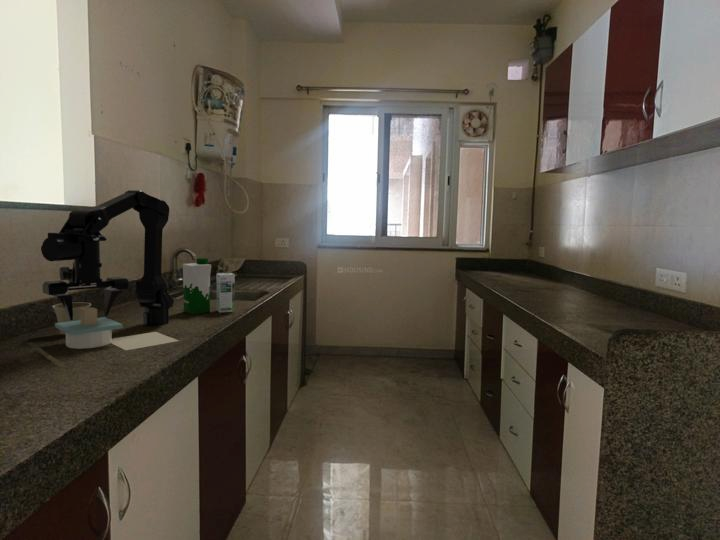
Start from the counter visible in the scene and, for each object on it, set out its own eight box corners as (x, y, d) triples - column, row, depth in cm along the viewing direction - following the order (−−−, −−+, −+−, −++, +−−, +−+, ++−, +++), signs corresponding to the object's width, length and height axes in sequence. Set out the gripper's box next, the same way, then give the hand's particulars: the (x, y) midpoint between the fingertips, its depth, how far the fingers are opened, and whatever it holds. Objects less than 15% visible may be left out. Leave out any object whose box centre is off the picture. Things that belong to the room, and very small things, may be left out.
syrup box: (219, 313, 166) (219, 274, 165) (216, 310, 172) (216, 272, 170) (234, 312, 169) (235, 273, 168) (231, 309, 174) (231, 272, 173)
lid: (105, 320, 126) (104, 303, 125) (122, 328, 118) (122, 309, 118) (55, 327, 117) (54, 308, 116) (70, 335, 109) (70, 315, 109)
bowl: (102, 339, 125) (102, 321, 124) (117, 346, 118) (116, 327, 118) (61, 345, 117) (60, 327, 117) (74, 353, 111) (73, 333, 110)
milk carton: (213, 312, 167) (213, 259, 165) (189, 315, 160) (189, 259, 159) (203, 309, 173) (203, 257, 171) (180, 311, 167) (179, 258, 165)
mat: (155, 334, 132) (155, 331, 132) (179, 343, 123) (179, 340, 123) (104, 342, 122) (104, 339, 122) (126, 353, 113) (125, 350, 112)
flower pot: (73, 339, 124) (72, 309, 123) (44, 337, 125) (43, 306, 125) (99, 332, 133) (99, 303, 132) (72, 329, 135) (71, 301, 134)
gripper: (113, 255, 128) (114, 309, 130) (35, 257, 114) (37, 318, 115) (129, 258, 121) (130, 315, 122) (48, 261, 107) (50, 325, 108)
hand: (88, 318), depth 117 cm, fingers open, 8 cm apart
